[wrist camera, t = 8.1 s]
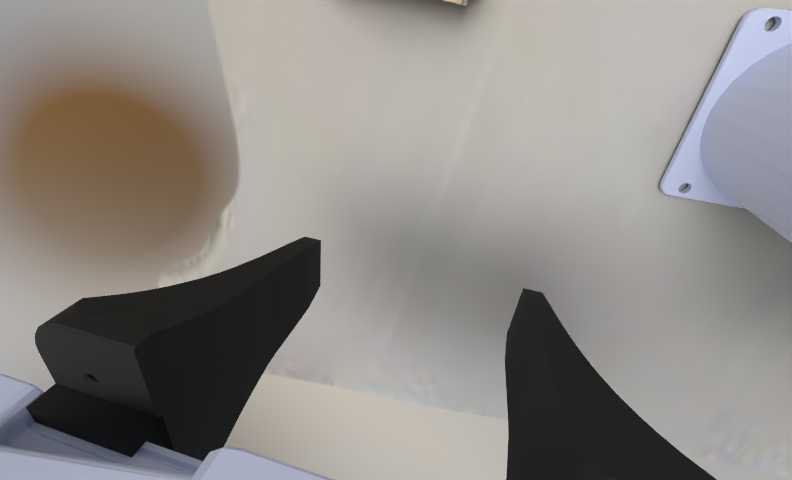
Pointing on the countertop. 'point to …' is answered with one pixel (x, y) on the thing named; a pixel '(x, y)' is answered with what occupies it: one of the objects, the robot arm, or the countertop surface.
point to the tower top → (458, 2)
